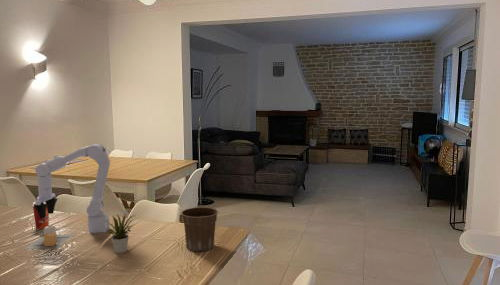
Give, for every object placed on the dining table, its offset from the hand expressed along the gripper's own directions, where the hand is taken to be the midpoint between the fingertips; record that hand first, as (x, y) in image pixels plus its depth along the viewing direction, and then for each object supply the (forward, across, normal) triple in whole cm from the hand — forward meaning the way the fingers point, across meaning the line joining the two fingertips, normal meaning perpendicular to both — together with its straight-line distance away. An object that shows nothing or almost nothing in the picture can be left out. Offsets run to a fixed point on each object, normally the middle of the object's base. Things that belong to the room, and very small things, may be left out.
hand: (46, 215), depth 185 cm
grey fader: (+9, +6, +4) cm, 11 cm away
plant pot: (+10, +15, +76) cm, 78 cm away
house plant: (+10, +19, +43) cm, 48 cm away
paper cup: (+10, -10, -8) cm, 16 cm away
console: (+10, +11, +7) cm, 16 cm away
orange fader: (+9, +16, +10) cm, 21 cm away
